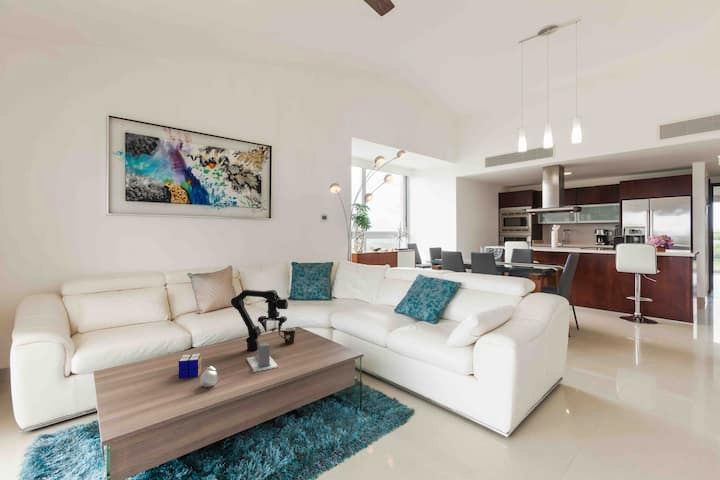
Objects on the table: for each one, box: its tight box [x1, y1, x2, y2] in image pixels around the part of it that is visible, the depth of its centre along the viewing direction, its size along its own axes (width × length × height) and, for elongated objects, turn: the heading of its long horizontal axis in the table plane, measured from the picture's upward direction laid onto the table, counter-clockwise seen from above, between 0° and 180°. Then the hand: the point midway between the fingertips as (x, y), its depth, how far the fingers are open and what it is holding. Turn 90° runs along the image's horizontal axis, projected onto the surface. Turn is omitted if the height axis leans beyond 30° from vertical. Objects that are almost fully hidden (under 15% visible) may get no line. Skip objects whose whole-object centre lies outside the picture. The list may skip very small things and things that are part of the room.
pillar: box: [258, 342, 271, 367], centre depth 208 cm, size 5×5×12 cm
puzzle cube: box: [178, 353, 202, 380], centre depth 196 cm, size 10×10×10 cm
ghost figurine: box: [199, 365, 219, 388], centre depth 182 cm, size 9×10×10 cm
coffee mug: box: [278, 327, 296, 345], centre depth 252 cm, size 12×9×10 cm
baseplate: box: [246, 352, 279, 373], centre depth 213 cm, size 22×14×4 cm, turn 29°
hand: (272, 331), depth 235 cm, fingers open, 9 cm apart
